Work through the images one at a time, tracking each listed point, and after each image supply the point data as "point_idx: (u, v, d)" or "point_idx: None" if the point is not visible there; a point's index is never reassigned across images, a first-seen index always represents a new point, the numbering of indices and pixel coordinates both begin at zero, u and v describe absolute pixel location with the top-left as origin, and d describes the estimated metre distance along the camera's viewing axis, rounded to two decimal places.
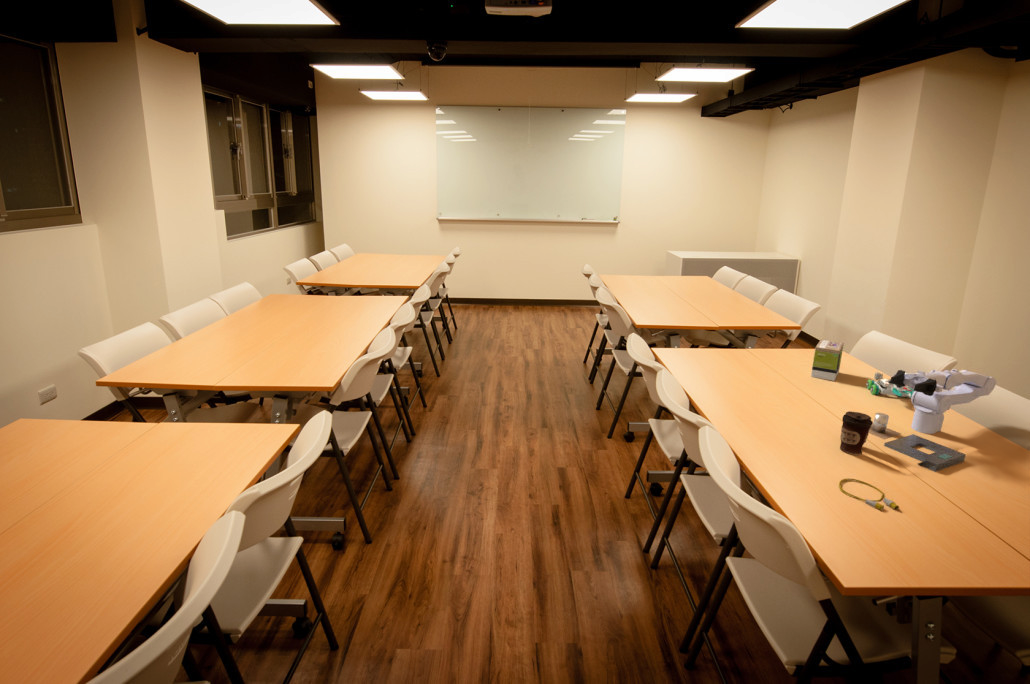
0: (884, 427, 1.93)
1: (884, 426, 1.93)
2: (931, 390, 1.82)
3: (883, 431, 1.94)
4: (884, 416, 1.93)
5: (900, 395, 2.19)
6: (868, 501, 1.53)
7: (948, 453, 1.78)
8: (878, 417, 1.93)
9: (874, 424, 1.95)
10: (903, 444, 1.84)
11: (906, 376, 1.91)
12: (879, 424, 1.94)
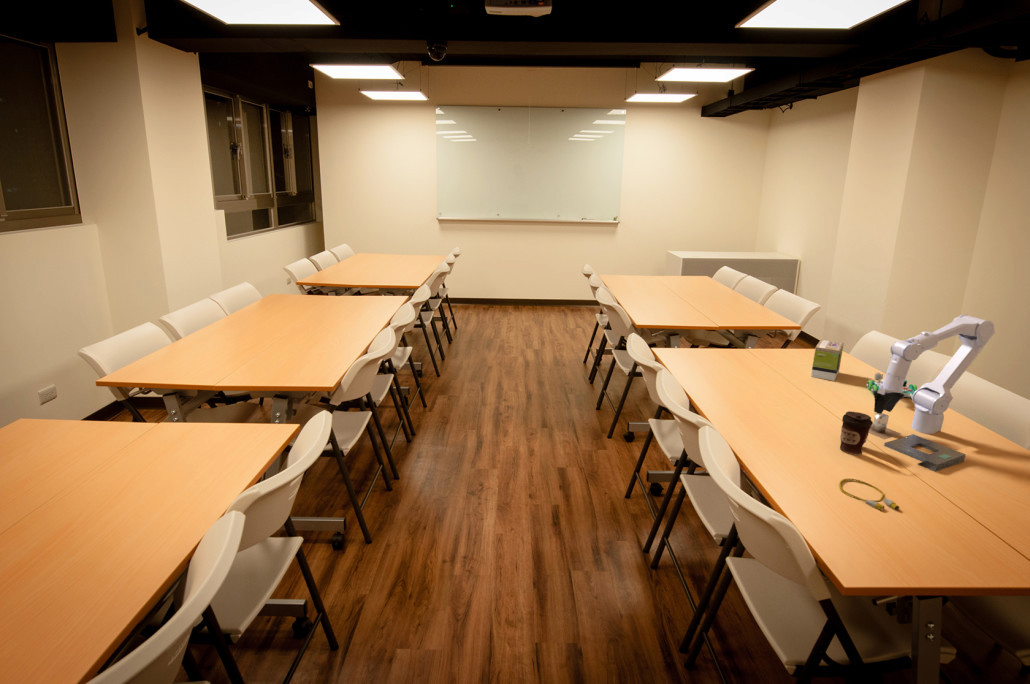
0: (884, 427, 1.93)
1: (884, 426, 1.93)
2: None
3: (883, 431, 1.94)
4: (884, 416, 1.93)
5: None
6: (868, 501, 1.53)
7: (948, 453, 1.78)
8: (878, 417, 1.93)
9: (874, 424, 1.95)
10: (903, 444, 1.84)
11: None
12: (879, 424, 1.94)
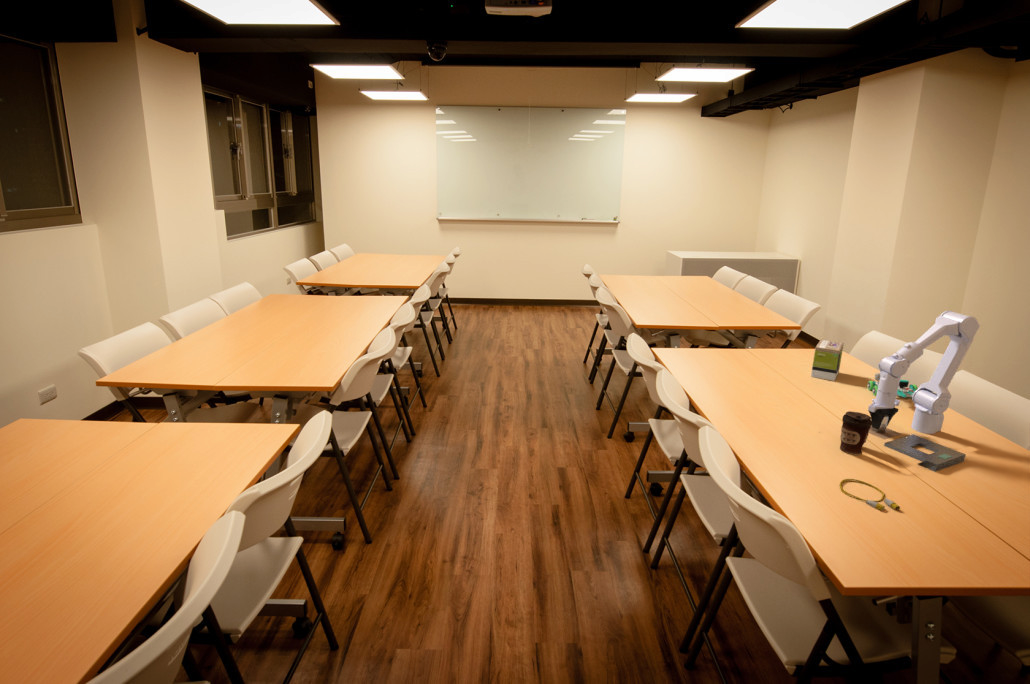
0: (884, 427, 1.93)
1: (884, 426, 1.93)
2: None
3: (883, 431, 1.94)
4: None
5: (904, 396, 2.18)
6: (869, 501, 1.53)
7: (948, 453, 1.78)
8: None
9: None
10: (903, 444, 1.84)
11: None
12: None
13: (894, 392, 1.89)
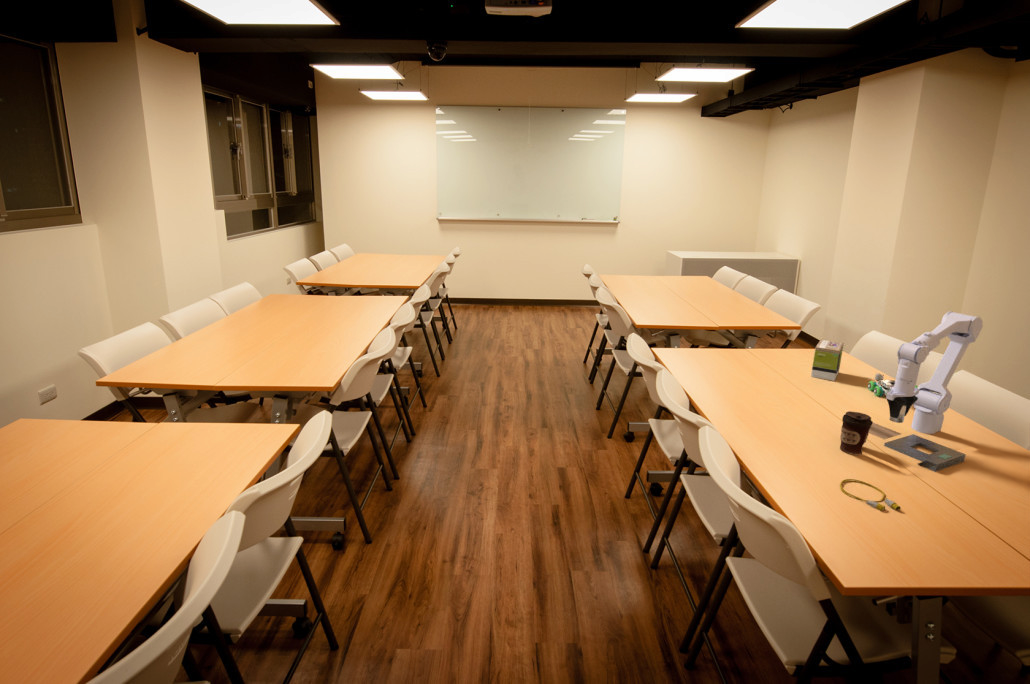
0: (901, 417, 1.87)
1: (902, 415, 1.87)
2: None
3: (901, 421, 1.87)
4: None
5: None
6: (869, 502, 1.53)
7: (948, 453, 1.78)
8: None
9: None
10: (903, 444, 1.84)
11: None
12: None
13: (916, 379, 1.82)
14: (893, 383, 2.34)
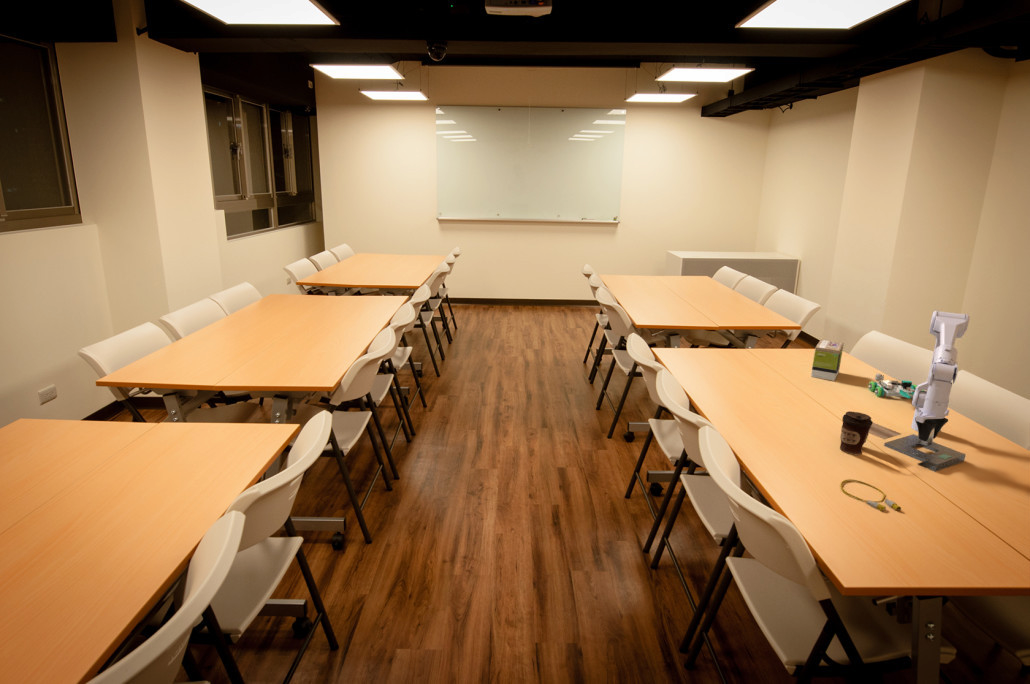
0: (930, 439, 1.78)
1: (930, 437, 1.78)
2: None
3: (930, 443, 1.79)
4: None
5: (909, 397, 2.17)
6: (870, 502, 1.53)
7: (948, 453, 1.78)
8: None
9: None
10: (903, 444, 1.84)
11: None
12: None
13: None
14: (894, 383, 2.34)
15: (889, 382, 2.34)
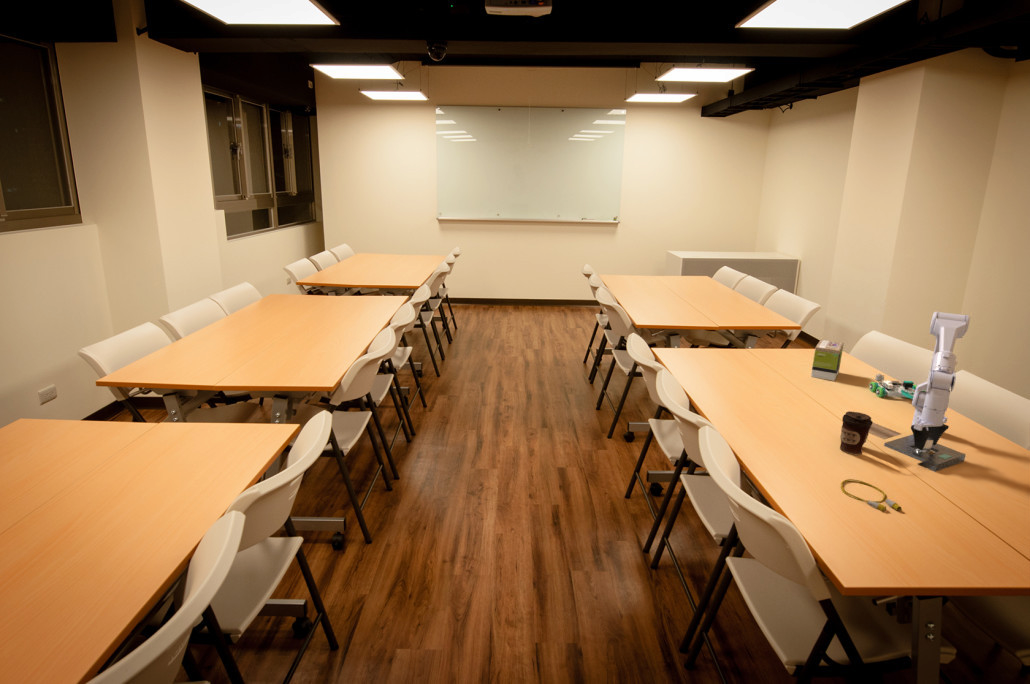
0: (927, 452, 1.80)
1: (928, 450, 1.79)
2: None
3: None
4: (928, 440, 1.79)
5: (912, 398, 2.16)
6: (870, 502, 1.53)
7: (948, 453, 1.78)
8: None
9: (917, 448, 1.81)
10: (903, 444, 1.84)
11: None
12: None
13: None
14: (894, 384, 2.33)
15: (890, 382, 2.34)
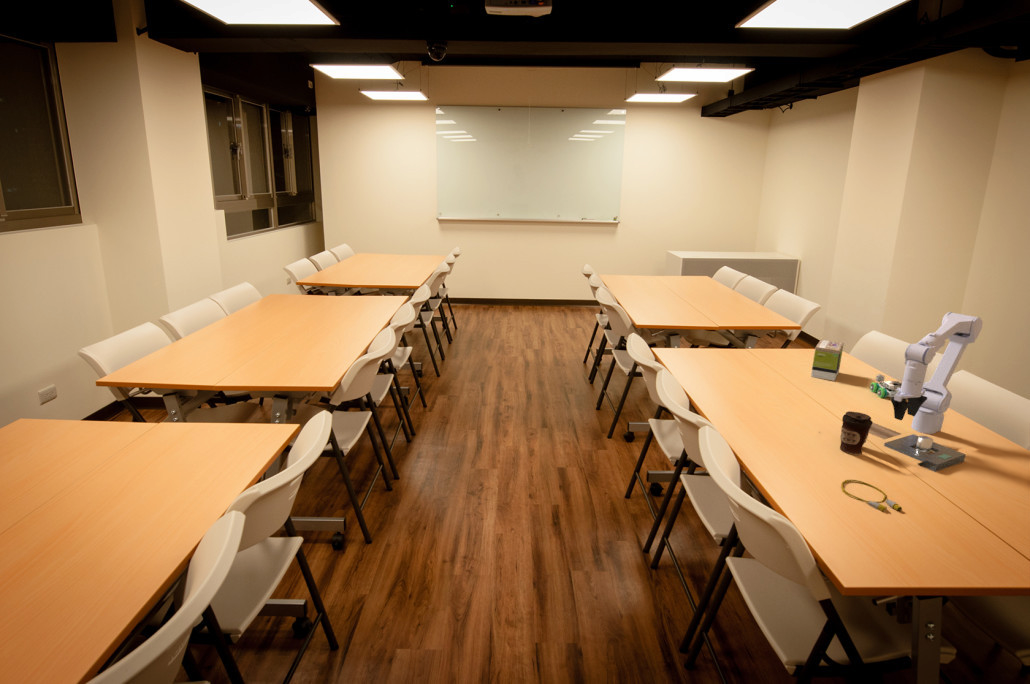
0: (927, 452, 1.80)
1: (928, 450, 1.79)
2: None
3: None
4: (927, 439, 1.79)
5: None
6: (871, 502, 1.53)
7: (948, 453, 1.78)
8: (921, 440, 1.80)
9: (917, 448, 1.81)
10: (903, 444, 1.84)
11: None
12: (922, 448, 1.80)
13: (923, 380, 1.82)
14: (895, 384, 2.33)
15: (891, 383, 2.34)
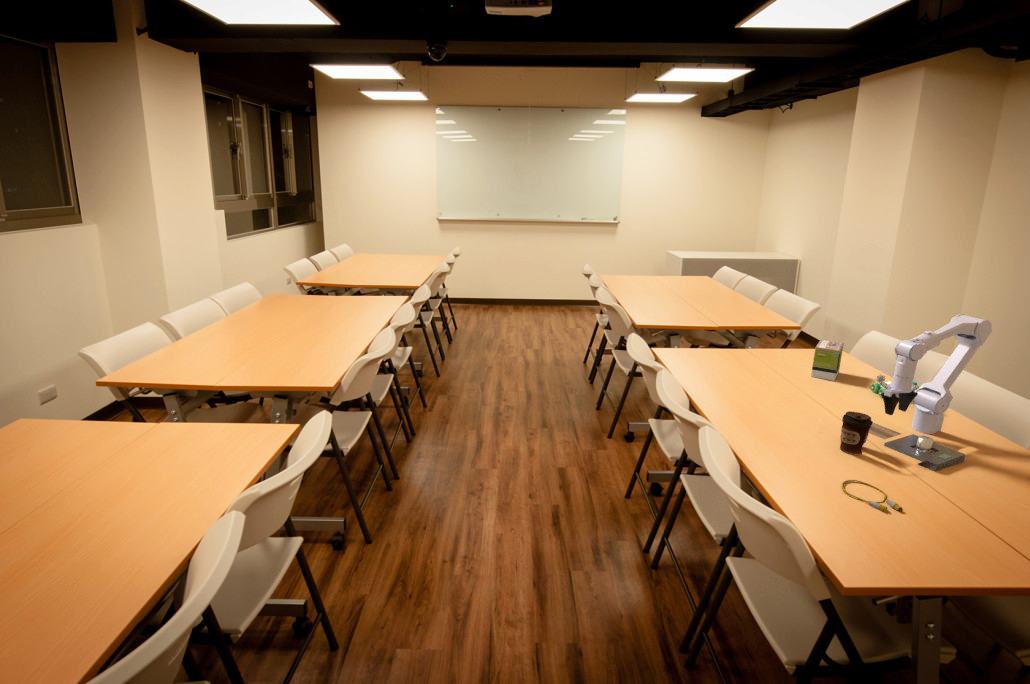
0: (927, 452, 1.80)
1: (928, 450, 1.79)
2: None
3: None
4: (928, 439, 1.79)
5: None
6: (871, 503, 1.53)
7: (948, 453, 1.78)
8: (921, 440, 1.80)
9: (917, 448, 1.81)
10: (903, 444, 1.84)
11: None
12: (922, 448, 1.80)
13: (912, 376, 1.85)
14: None
15: (891, 383, 2.33)
